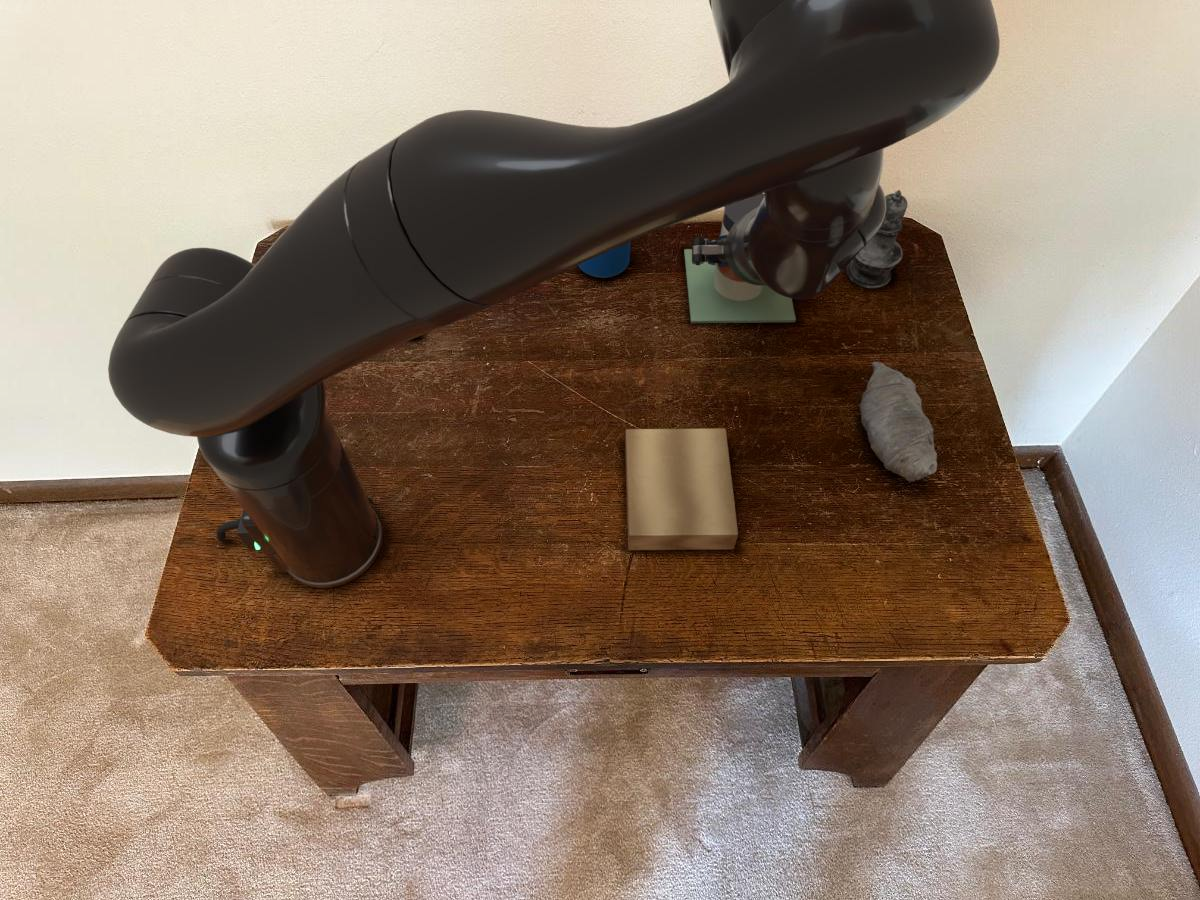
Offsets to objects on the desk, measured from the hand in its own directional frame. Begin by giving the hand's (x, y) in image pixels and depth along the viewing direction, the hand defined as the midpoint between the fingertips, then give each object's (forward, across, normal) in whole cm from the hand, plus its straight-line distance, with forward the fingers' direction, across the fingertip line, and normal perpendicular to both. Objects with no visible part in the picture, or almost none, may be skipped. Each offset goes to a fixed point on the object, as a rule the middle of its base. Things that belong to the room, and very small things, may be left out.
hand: (740, 254), depth 93 cm
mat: (+1, 0, -4) cm, 4 cm away
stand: (-19, -9, -24) cm, 32 cm away
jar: (-1, 0, +3) cm, 3 cm away
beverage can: (+4, -16, -1) cm, 17 cm away
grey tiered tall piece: (+3, +16, -2) cm, 16 cm away
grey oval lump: (-14, +13, -19) cm, 27 cm away
